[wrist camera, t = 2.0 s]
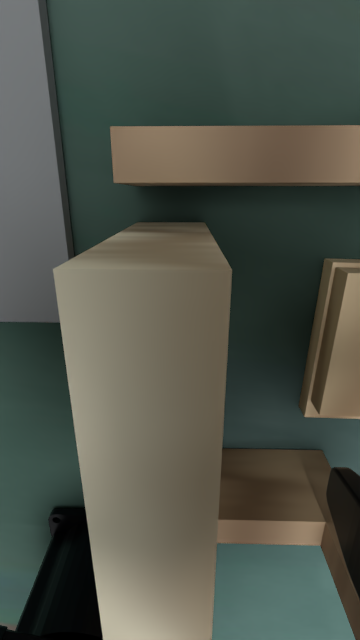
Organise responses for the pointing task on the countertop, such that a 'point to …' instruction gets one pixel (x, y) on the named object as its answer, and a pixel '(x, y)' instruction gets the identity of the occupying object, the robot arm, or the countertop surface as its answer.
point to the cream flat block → (149, 420)
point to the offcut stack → (334, 345)
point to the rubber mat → (30, 168)
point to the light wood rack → (257, 170)
